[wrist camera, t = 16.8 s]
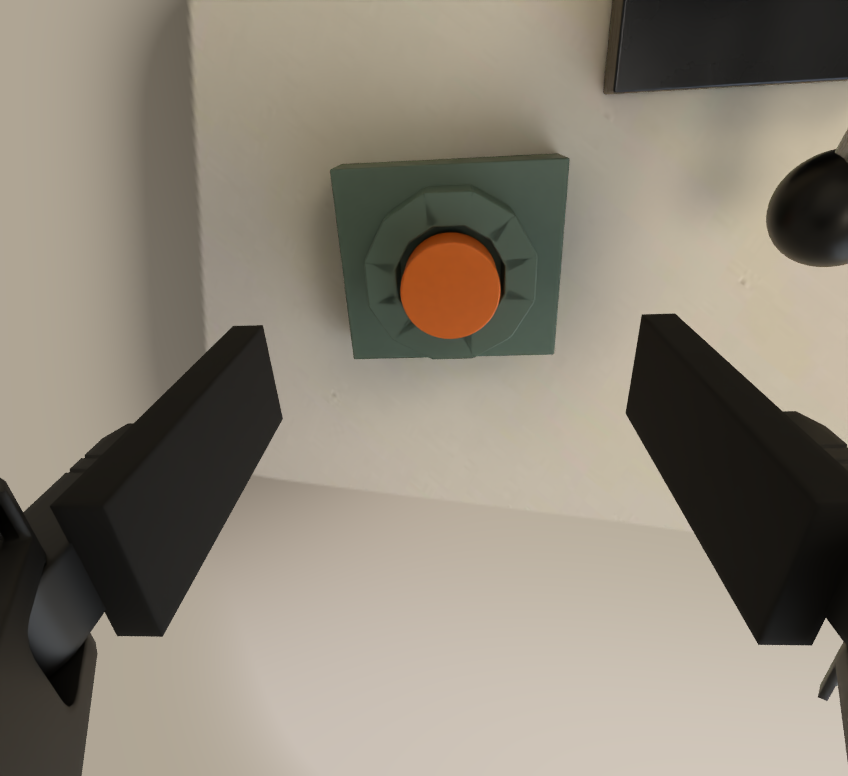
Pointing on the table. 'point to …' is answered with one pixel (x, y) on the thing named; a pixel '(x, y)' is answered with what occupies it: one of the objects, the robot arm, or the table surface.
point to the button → (450, 286)
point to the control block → (463, 213)
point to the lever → (813, 210)
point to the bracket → (724, 44)
